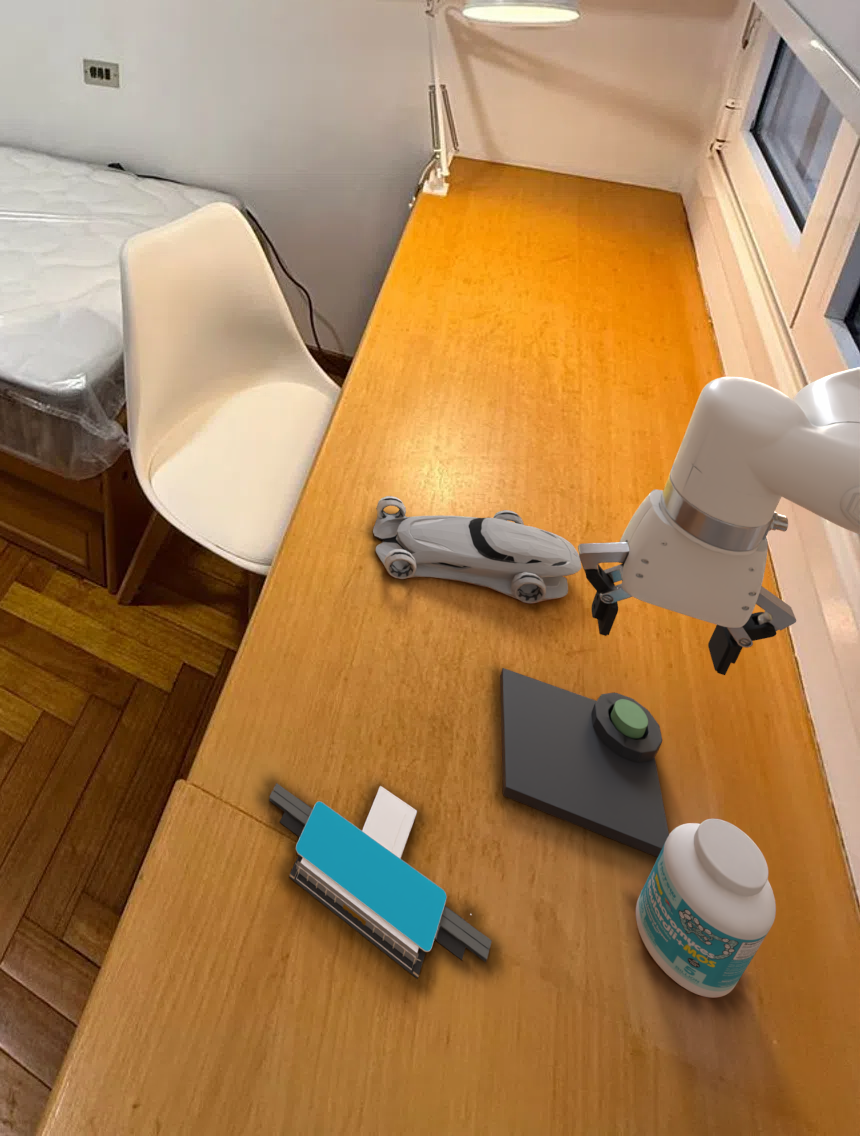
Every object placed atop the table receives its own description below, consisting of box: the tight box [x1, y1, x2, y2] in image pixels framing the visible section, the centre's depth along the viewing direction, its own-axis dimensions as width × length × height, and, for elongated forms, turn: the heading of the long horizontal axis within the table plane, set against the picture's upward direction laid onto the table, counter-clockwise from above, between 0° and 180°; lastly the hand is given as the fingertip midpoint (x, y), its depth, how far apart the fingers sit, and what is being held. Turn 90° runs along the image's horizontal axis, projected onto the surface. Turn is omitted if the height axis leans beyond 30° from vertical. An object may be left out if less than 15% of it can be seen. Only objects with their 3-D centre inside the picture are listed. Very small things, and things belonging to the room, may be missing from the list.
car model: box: [372, 495, 582, 604], centre depth 106 cm, size 11×24×5 cm, turn 80°
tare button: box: [611, 699, 648, 739], centre depth 85 cm, size 3×3×2 cm
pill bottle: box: [635, 818, 777, 999], centre depth 69 cm, size 8×7×14 cm
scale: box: [499, 667, 670, 858], centre depth 84 cm, size 14×13×3 cm
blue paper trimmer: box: [268, 782, 493, 980], centre depth 76 cm, size 20×12×2 cm, turn 53°
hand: (657, 641), depth 81 cm, fingers open, 9 cm apart
